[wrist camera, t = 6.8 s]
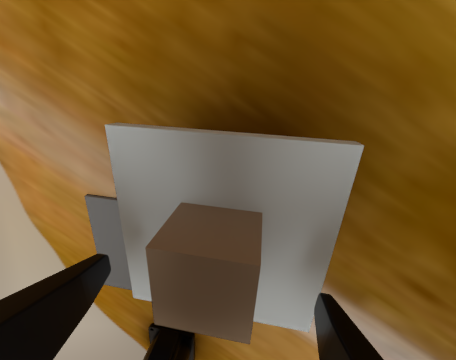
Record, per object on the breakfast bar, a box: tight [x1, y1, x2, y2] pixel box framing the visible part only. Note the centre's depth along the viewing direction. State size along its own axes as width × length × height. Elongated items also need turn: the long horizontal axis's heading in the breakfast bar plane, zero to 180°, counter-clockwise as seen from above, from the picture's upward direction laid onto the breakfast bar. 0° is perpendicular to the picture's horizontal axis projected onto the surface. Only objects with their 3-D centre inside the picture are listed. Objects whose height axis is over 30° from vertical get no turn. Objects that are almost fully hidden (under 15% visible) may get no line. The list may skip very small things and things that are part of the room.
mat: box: [85, 194, 132, 290], centre depth 25 cm, size 13×13×1 cm
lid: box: [105, 123, 364, 344], centre depth 10 cm, size 11×11×4 cm
